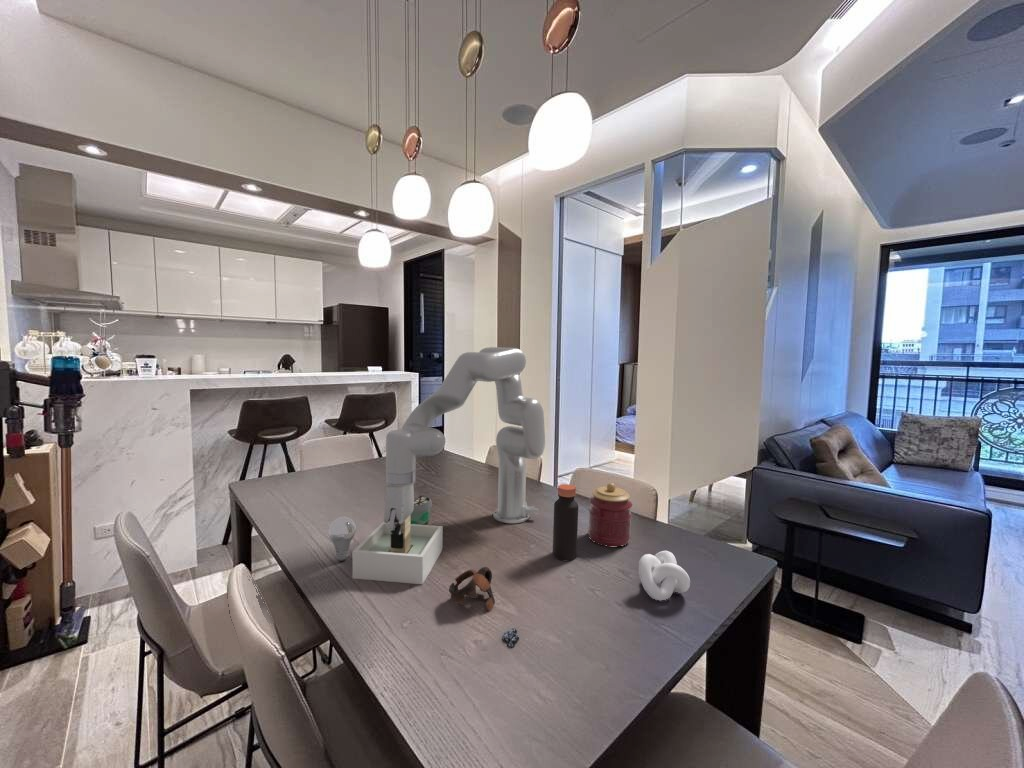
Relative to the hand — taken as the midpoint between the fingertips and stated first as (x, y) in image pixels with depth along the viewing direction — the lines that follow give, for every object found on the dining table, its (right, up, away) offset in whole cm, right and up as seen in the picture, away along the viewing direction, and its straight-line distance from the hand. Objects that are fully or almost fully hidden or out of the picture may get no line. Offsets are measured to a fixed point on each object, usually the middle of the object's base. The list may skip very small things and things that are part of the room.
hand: (400, 543), depth 112 cm
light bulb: (-16, -5, +1) cm, 17 cm away
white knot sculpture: (+66, -8, -10) cm, 67 cm away
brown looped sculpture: (+21, -8, -16) cm, 28 cm away
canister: (+60, -6, +18) cm, 63 cm away
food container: (+1, -4, +20) cm, 21 cm away
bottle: (+45, -6, +7) cm, 46 cm away
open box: (0, -6, 0) cm, 6 cm away
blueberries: (+30, -9, -28) cm, 42 cm away
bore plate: (0, -6, 0) cm, 6 cm away
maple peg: (0, -2, 0) cm, 2 cm away
